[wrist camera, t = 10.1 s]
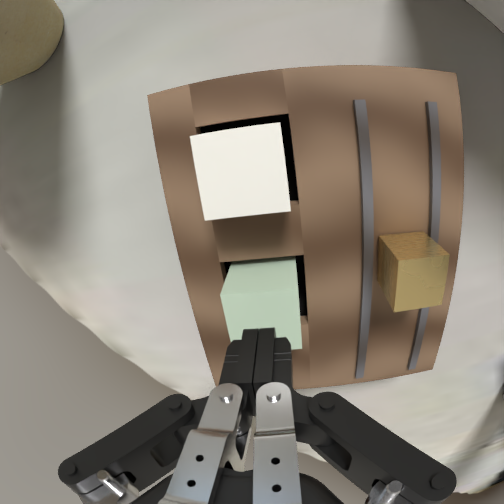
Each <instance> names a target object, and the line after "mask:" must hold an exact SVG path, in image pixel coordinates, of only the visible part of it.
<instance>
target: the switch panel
mask: <svg viewBox="0 0 504 504" xmlns="http://www.w3.org/2000/svg"><path fill="white" fill-rule="evenodd" d="M147 96H148V103H149V110H150V116H151V123H152V129H153V135H154V141H155V146H156V152H157V158H158V163H159V168H160V174H161V179H162V184H163V189H164V194H165V198H166V203H167V208H168V212H169V217H170V221H171V226H172V230H173V235H174V239H175V243H176V247H177V251H178V256H179V260H180V264H181V268H182V272H183V275H184V279H185V283H186V287H187V291H188V294H189V298H190V302H191V305H192V309H193V313H194V316H195V320H196V323H197V327H198V330H199V333H200V337H201V340H202V344H203V347H204V350H205V353H206V357H207V360H208V363H209V366H210V369H211V372H212V376H213V379H214V382H215V385H216V386H218V385H219V380H220V376H221V372H222V368H223V363H224V359H225V356H226V350H227V347H228V346H229V344H230V343H231V341H230V337H229V332H228V328H227V324H226V319H225V315H224V310H223V306H222V301H221V297H220V294H221V291H222V288H223V285H224V282H225V279H226V277H227V275H226V270H225V265H224V262H228V261H240V260H251V259H262V258H273V257H284V256H295V255H303V257H304V271H305V285H306V301H307V316H300V322H301V337H302V349H293V350H291V353H292V366H293V389H305V388H317V387H328V386H337V385H345V384H353V383H361V382H368V381H374V380H380V379H386V378H392V377H398V376H403V375H408V374H413V373H418V372H423V371H427V370H431V369H433V366H434V363H435V359H436V356H437V353H438V349H439V346H440V342H441V338H442V335H443V331H444V327H445V323H446V318H447V314H448V310H449V305H450V300H451V295H452V290H453V285H454V279H455V273H456V266H457V260H458V252H459V244H460V235H461V224H462V211H463V191H464V148H463V128H462V115H461V105H460V96H459V88H458V81H457V75H456V73H452V72H445V71H438V70H429V69H420V68H409V67H395V66H371V65H337V66H313V67H298V68H287V69H277V70H268V71H260V72H253V73H246V74H240V75H233V76H228V77H222V78H217V79H212V80H207V81H202V82H197V83H193V84H188V85H184V86H180V87H176V88H172V89H168V90H164V91H161V92H157V93H153V94H150V95H147ZM286 114H288V117H289V124H290V132H291V140H292V148H293V156H294V164H295V173H296V182H297V191H298V200H296V201H290V207H291V211H289V212H279V213H269V214H259V215H250V216H241V217H232V218H224V219H215V220H207V221H205V219H204V214H203V209H202V203H201V198H200V193H199V187H198V182H197V176H196V170H195V165H194V159H193V153H192V147H191V141H190V136H193V135H198V134H201V129H200V127H203V126H209V125H214V124H220V123H226V122H232V121H239V120H245V119H253V118H260V117H268V116H277V115H286ZM422 231H424V232H425V233H426V234H427V235H428V236H429V237H431V238H432V239H433V240H434V241H435V242H436V243H437V244H438V245H440V246H441V247H442V248H443V249H444V250H445V251H446V252H447V253H448V254H449V255H450V256H449V264H448V271H447V278H446V284H445V290H444V295H443V300H442V305H437V306H431V307H426V308H419V309H413V310H407V311H400V312H393V310H392V308H391V306H390V304H389V302H388V300H387V298H386V296H385V295H384V293H383V291H382V289H381V287H380V285H379V283H378V281H377V274H378V246H379V235H388V234H399V233H410V232H422Z"/></svg>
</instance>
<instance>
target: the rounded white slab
mask: <svg viewBox="0 0 504 504" xmlns="http://www.w3.org/2000/svg"><path fill="white" fill-rule="evenodd" d="M465 1H467V2H468V3H469V4H470V5H472V6H473V7H474V8H475V9H477V10H478V11H479V12H480V13H481V14H483V15H484V16H485V17H486V18H487V19H488V20H489V21H491V22H492V23H493V24H494V25H495V26H496V27H497V28H498V29H499V30H500V31H501V32H502V33H503V34H504V0H465Z"/></svg>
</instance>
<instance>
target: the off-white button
mask: <svg viewBox="0 0 504 504" xmlns="http://www.w3.org/2000/svg"><path fill="white" fill-rule="evenodd" d="M190 141H191V147H192V153H193V159H194V165H195V170H196V176H197V182H198V187H199V193H200V198H201V203H202V209H203V214H204V219H205V221H207V220H215V219H224V218H232V217H241V216H250V215H259V214H269V213H279V212H289V211H291V207H290V198H289V189H288V180H287V172H286V163H285V155H284V147H283V140H282V132H281V125H280V122H279V123H270V124H262V125H254V126H247V127H240V128H233V129H227V130H221V131H215V132H209V133H204V134H198V135H193V136H190Z"/></svg>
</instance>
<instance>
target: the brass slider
mask: <svg viewBox="0 0 504 504" xmlns="http://www.w3.org/2000/svg"><path fill="white" fill-rule="evenodd" d="M449 256H450V255H449V254H448V253H447V252H446V251H445V250H444V249H443V248H442V247H441V246H440V245H438V244H437V243H436V242H435V241H434V240H433V239H432V238H431V237H429V236H428V235H427V234H426V233H425V232H424V231H422V232H410V233H399V234H388V235H379V246H378V274H377V281H378V283H379V285H380V287H381V289H382V291H383V293H384V295H385V296H386V298H387V300H388V302H389V304H390V306H391V308H392V310H393V312H400V311H407V310H413V309H419V308H426V307H431V306H437V305H442V300H443V295H444V290H445V284H446V278H447V271H448V264H449Z"/></svg>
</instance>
